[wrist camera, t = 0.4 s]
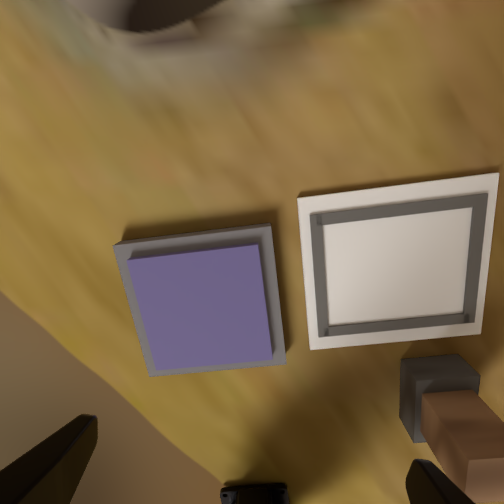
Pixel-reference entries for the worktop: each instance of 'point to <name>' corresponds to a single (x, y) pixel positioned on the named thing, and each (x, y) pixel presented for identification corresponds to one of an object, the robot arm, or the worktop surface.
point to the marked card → (397, 261)
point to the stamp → (454, 423)
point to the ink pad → (204, 299)
